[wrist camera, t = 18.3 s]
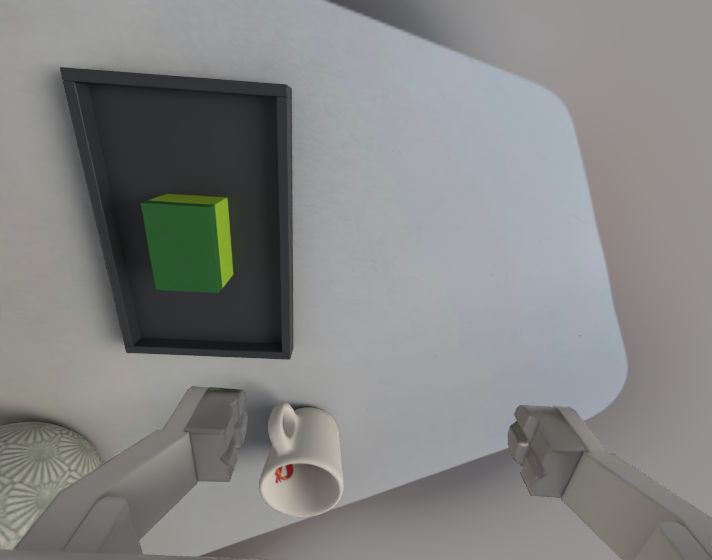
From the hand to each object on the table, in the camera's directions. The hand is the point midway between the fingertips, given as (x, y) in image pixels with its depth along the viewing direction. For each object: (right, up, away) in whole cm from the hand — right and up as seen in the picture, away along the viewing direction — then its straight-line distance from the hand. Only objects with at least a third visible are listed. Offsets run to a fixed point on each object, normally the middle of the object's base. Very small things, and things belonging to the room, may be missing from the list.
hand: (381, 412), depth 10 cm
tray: (-14, +8, +20) cm, 26 cm away
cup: (-7, -11, +29) cm, 32 cm away
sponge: (-14, +8, +20) cm, 26 cm away
